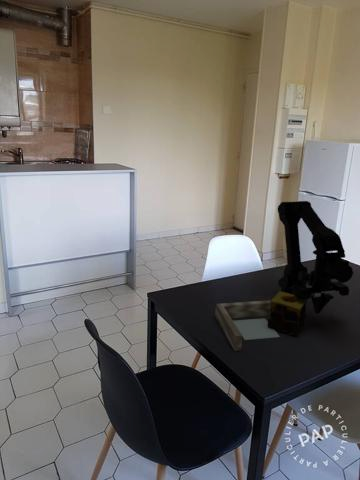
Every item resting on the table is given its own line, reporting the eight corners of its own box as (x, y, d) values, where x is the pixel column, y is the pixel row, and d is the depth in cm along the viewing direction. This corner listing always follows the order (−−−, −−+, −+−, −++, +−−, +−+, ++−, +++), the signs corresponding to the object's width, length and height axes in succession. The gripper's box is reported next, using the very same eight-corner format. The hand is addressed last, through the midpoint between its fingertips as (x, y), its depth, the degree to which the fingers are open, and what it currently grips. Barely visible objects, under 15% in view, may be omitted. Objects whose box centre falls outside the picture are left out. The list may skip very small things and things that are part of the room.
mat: (264, 318, 131) (264, 318, 131) (279, 337, 119) (280, 336, 119) (232, 321, 128) (232, 320, 128) (244, 340, 117) (244, 339, 117)
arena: (268, 312, 135) (269, 300, 134) (296, 345, 115) (298, 330, 114) (215, 316, 131) (215, 303, 130) (234, 350, 112) (236, 336, 110)
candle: (296, 337, 119) (301, 309, 116) (266, 327, 124) (269, 300, 121) (304, 324, 128) (308, 298, 125) (276, 315, 133) (279, 290, 130)
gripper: (332, 260, 132) (326, 300, 137) (285, 263, 127) (280, 304, 132) (353, 272, 122) (346, 314, 126) (303, 276, 117) (297, 320, 122)
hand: (316, 313), depth 127 cm, fingers closed
